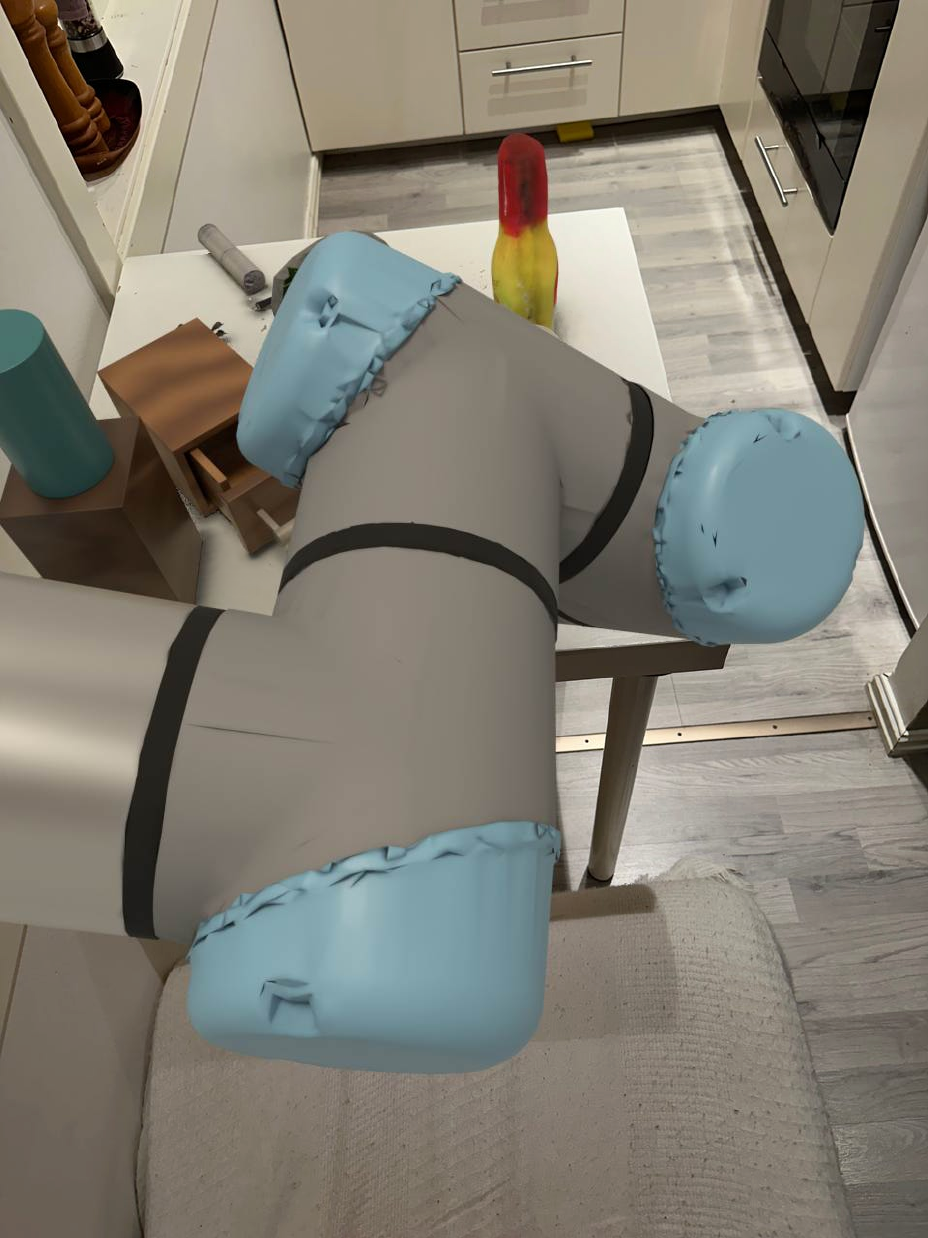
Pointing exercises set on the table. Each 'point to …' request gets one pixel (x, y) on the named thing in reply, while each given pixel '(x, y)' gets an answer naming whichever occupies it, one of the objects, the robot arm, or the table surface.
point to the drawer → (243, 490)
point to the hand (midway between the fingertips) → (380, 552)
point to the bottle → (524, 234)
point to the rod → (231, 258)
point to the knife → (261, 303)
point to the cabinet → (181, 396)
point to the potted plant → (290, 269)
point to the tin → (46, 413)
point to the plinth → (111, 524)
